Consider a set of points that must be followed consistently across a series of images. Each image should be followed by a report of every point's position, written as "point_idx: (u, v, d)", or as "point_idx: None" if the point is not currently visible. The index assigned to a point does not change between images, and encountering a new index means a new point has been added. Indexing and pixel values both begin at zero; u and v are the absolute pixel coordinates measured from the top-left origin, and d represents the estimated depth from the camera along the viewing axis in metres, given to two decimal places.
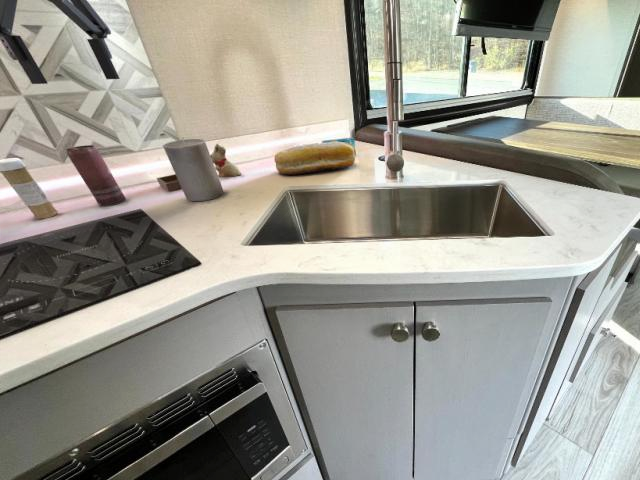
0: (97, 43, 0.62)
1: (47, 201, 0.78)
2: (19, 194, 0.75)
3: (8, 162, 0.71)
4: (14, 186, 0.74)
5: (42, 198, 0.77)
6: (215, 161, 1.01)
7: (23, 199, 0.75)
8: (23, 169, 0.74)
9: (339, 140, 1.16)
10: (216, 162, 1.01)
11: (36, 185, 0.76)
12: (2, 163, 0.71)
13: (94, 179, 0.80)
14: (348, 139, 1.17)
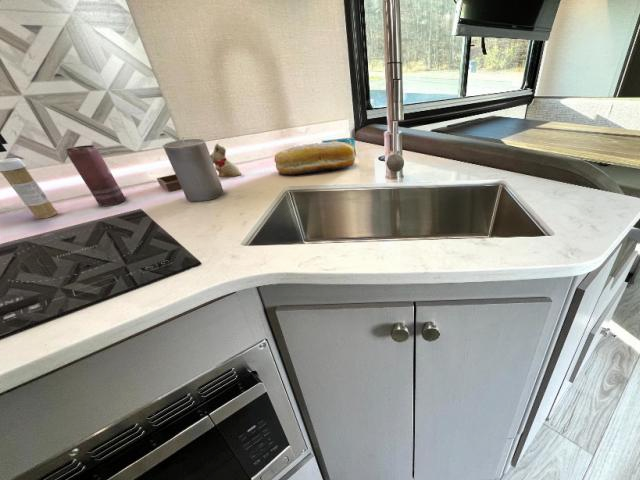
0: None
1: (47, 201, 0.78)
2: (19, 194, 0.75)
3: (8, 162, 0.71)
4: (14, 186, 0.74)
5: (42, 198, 0.77)
6: (215, 161, 1.01)
7: (23, 199, 0.75)
8: (23, 169, 0.74)
9: (339, 140, 1.16)
10: (216, 162, 1.01)
11: (36, 185, 0.76)
12: (2, 163, 0.71)
13: (94, 179, 0.80)
14: (348, 139, 1.17)
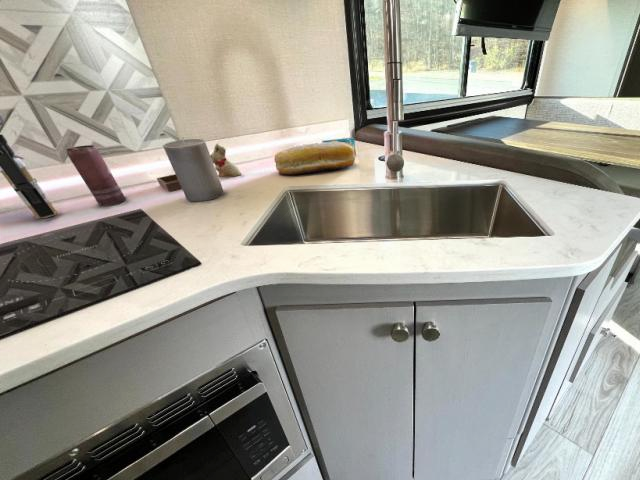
0: None
1: (47, 201, 0.78)
2: (19, 194, 0.75)
3: None
4: (14, 186, 0.74)
5: None
6: (215, 161, 1.01)
7: (23, 199, 0.76)
8: (23, 169, 0.74)
9: (339, 140, 1.16)
10: (216, 162, 1.01)
11: (36, 185, 0.76)
12: None
13: (94, 179, 0.80)
14: (348, 139, 1.17)
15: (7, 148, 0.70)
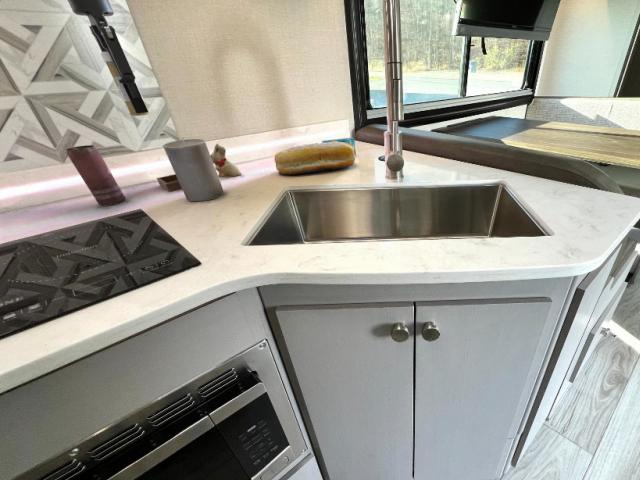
0: None
1: None
2: (120, 88, 0.79)
3: None
4: (117, 79, 0.78)
5: None
6: (215, 161, 1.01)
7: (123, 93, 0.80)
8: None
9: (339, 140, 1.16)
10: (216, 162, 1.01)
11: None
12: None
13: (94, 179, 0.80)
14: (348, 139, 1.17)
15: None
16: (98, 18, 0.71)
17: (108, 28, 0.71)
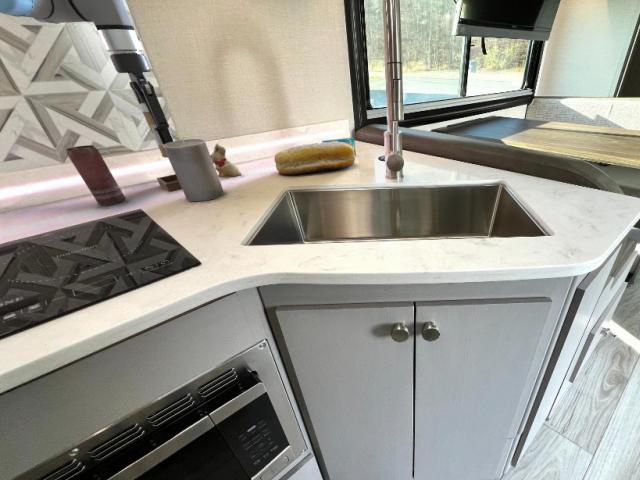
0: None
1: None
2: (155, 134, 0.88)
3: None
4: (152, 127, 0.86)
5: None
6: (215, 161, 1.01)
7: (157, 139, 0.88)
8: None
9: (339, 140, 1.16)
10: (216, 162, 1.01)
11: None
12: None
13: (94, 179, 0.80)
14: (348, 139, 1.17)
15: None
16: (138, 76, 0.79)
17: (148, 86, 0.79)
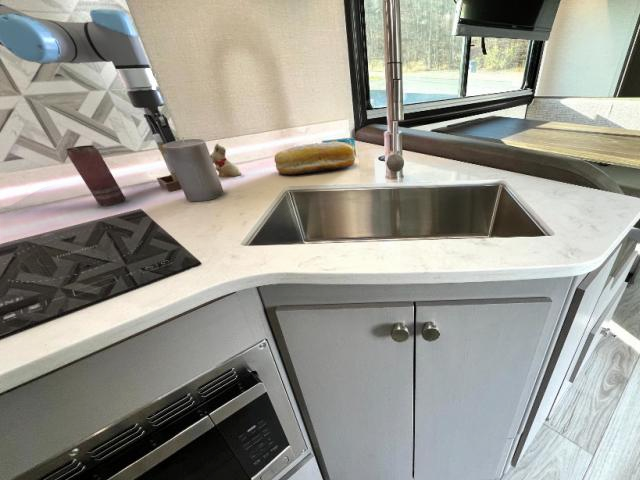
0: None
1: None
2: (167, 162, 0.92)
3: None
4: (165, 155, 0.91)
5: None
6: (215, 161, 1.01)
7: (169, 166, 0.93)
8: None
9: (339, 140, 1.16)
10: (216, 162, 1.01)
11: None
12: None
13: (94, 179, 0.80)
14: (348, 139, 1.17)
15: None
16: (153, 111, 0.84)
17: (162, 118, 0.83)
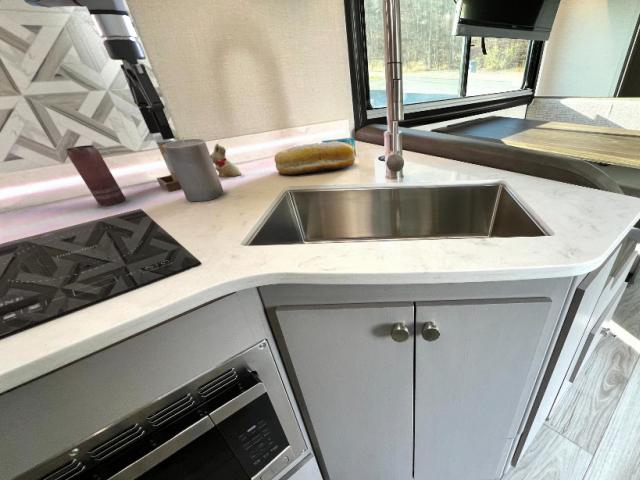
0: (149, 110, 0.90)
1: None
2: (167, 162, 0.92)
3: None
4: (165, 155, 0.91)
5: None
6: (215, 161, 1.01)
7: (169, 166, 0.93)
8: (172, 141, 0.91)
9: (339, 140, 1.16)
10: (216, 162, 1.01)
11: None
12: (161, 136, 0.88)
13: (94, 179, 0.80)
14: (348, 139, 1.17)
15: None
16: (132, 64, 0.77)
17: (138, 64, 0.76)
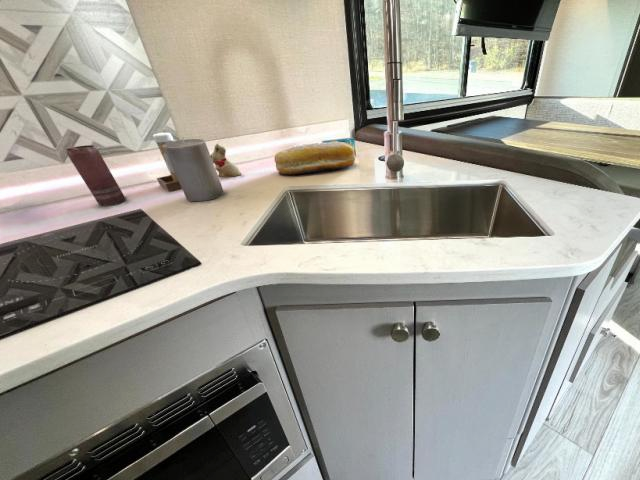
0: None
1: None
2: (167, 162, 0.92)
3: (165, 135, 0.88)
4: (165, 156, 0.91)
5: None
6: (215, 161, 1.01)
7: (169, 166, 0.93)
8: (172, 141, 0.91)
9: (339, 140, 1.16)
10: (216, 162, 1.01)
11: None
12: (161, 136, 0.88)
13: (94, 179, 0.80)
14: (348, 139, 1.17)
15: None
16: None
17: None
